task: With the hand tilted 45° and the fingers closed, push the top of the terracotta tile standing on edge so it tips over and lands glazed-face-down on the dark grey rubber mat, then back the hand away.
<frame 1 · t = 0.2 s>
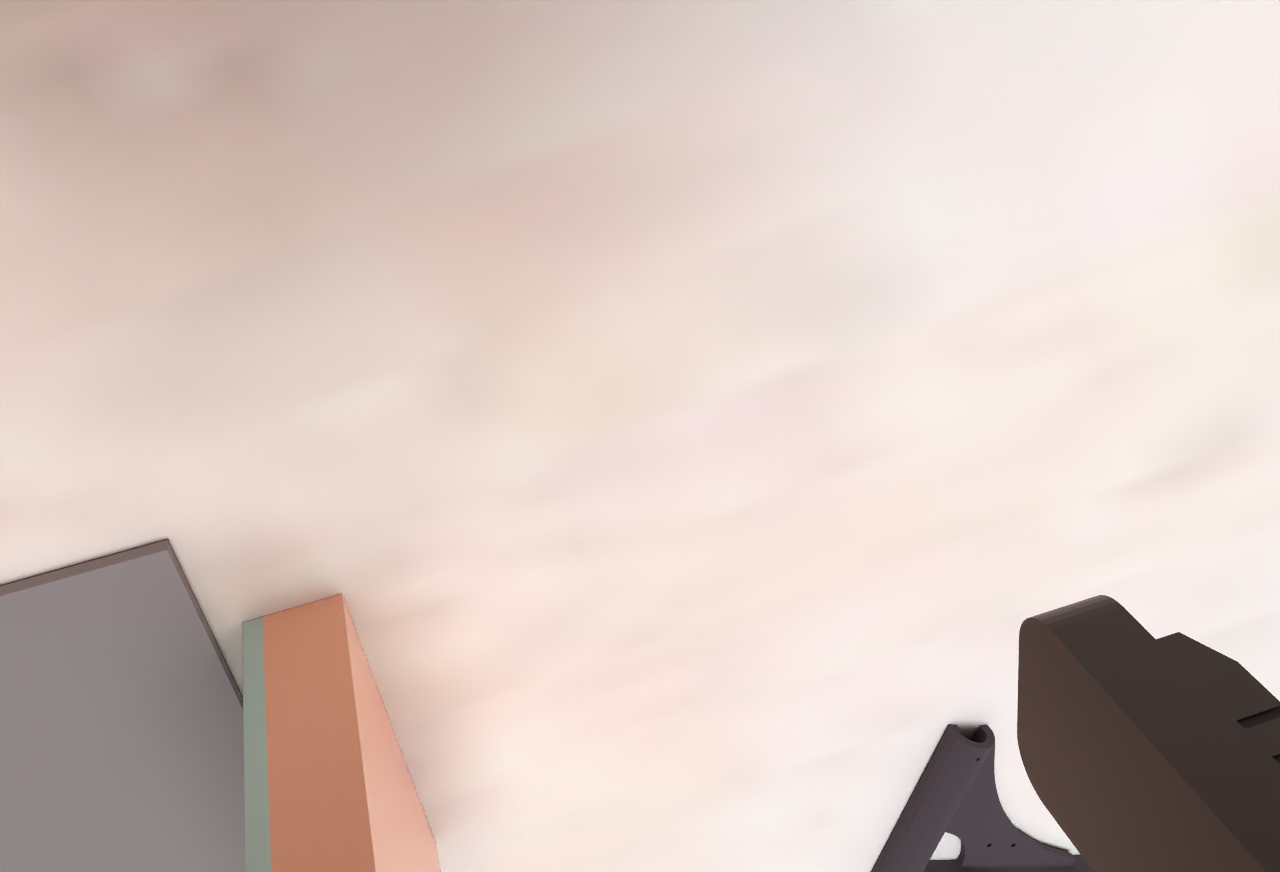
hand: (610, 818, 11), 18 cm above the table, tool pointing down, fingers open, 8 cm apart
bracket: (1022, 852, 47), on the table
tile: (347, 742, 33), on the table
mat: (26, 843, 32), on the table
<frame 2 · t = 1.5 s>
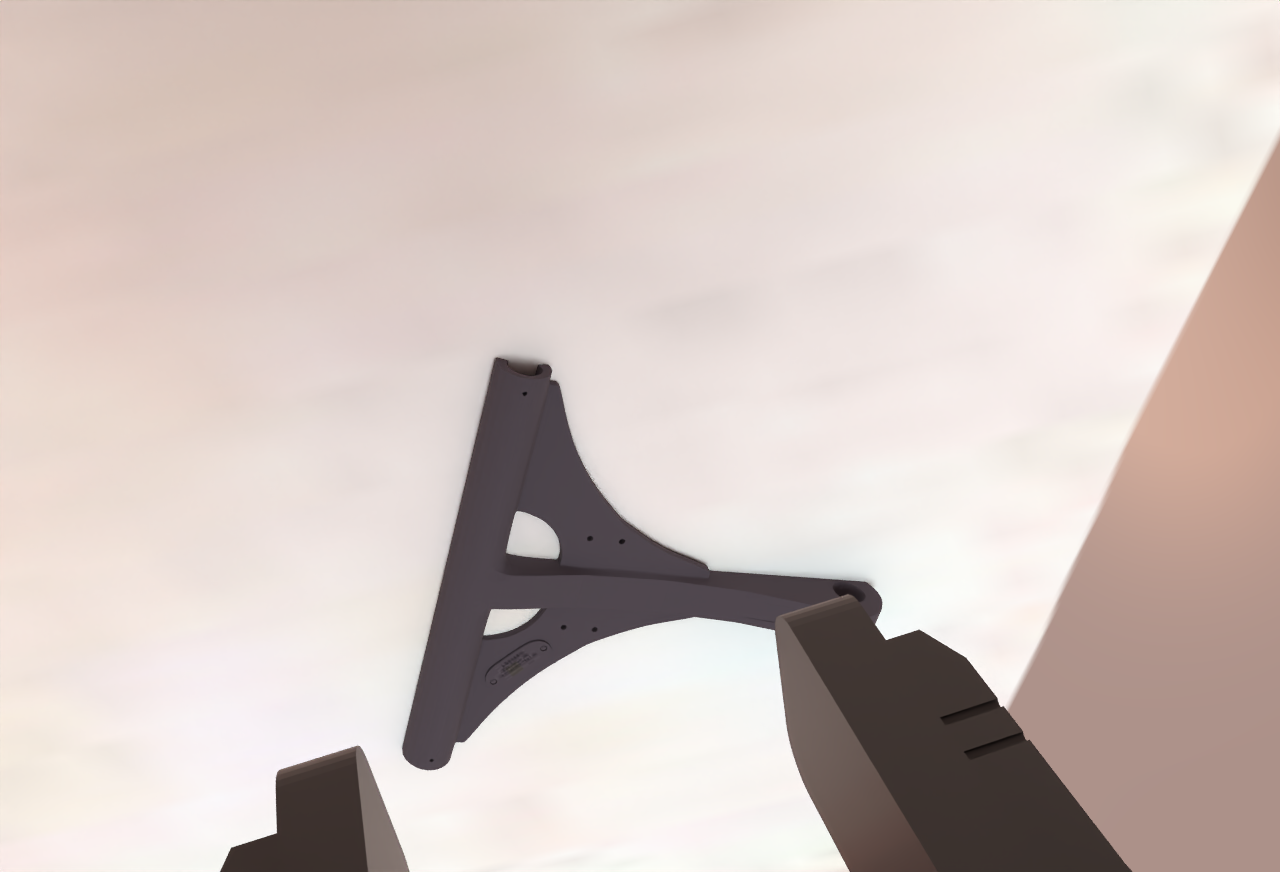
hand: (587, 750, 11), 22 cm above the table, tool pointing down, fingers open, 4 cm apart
bracket: (659, 572, 40), on the table
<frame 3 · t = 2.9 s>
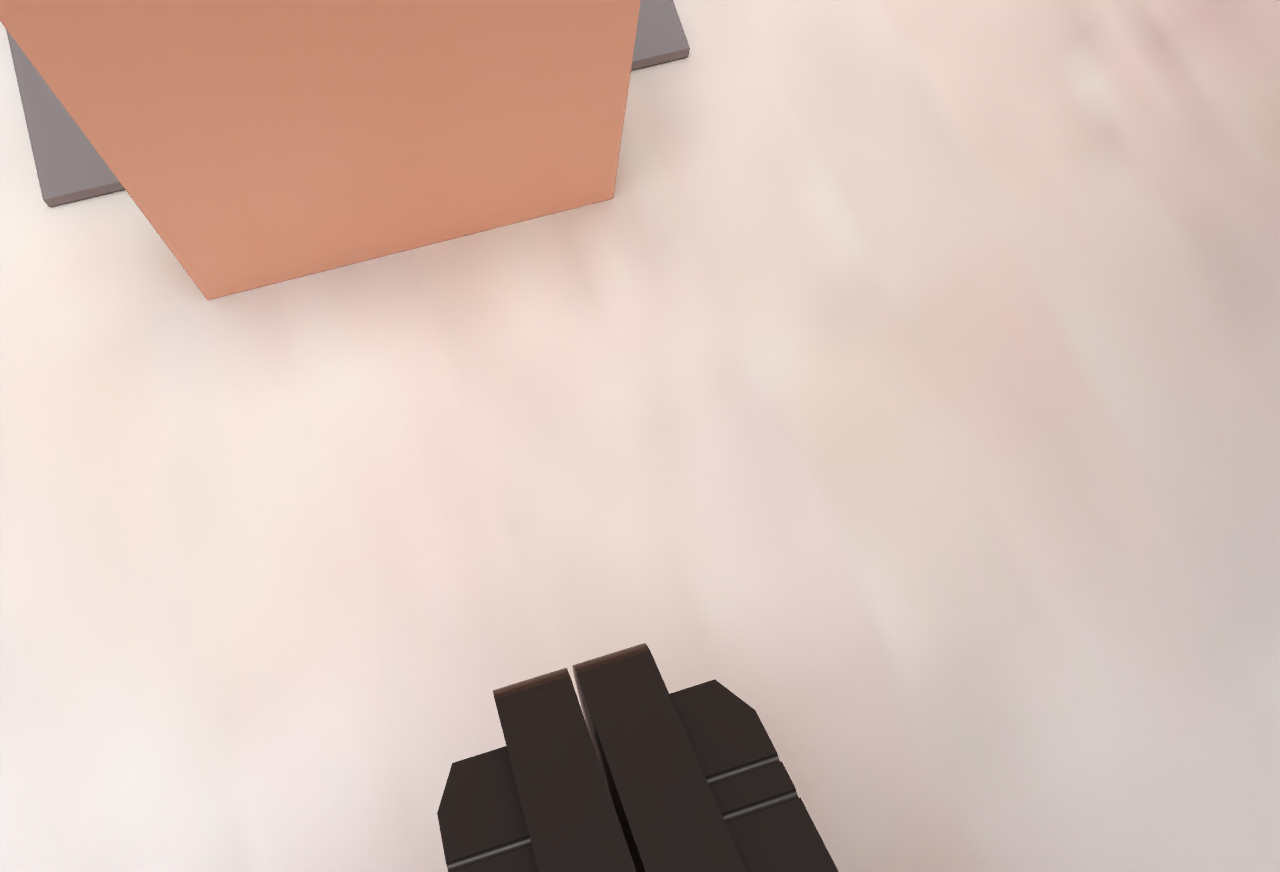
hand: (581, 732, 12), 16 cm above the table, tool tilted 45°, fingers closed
tile: (402, 201, 30), on the table
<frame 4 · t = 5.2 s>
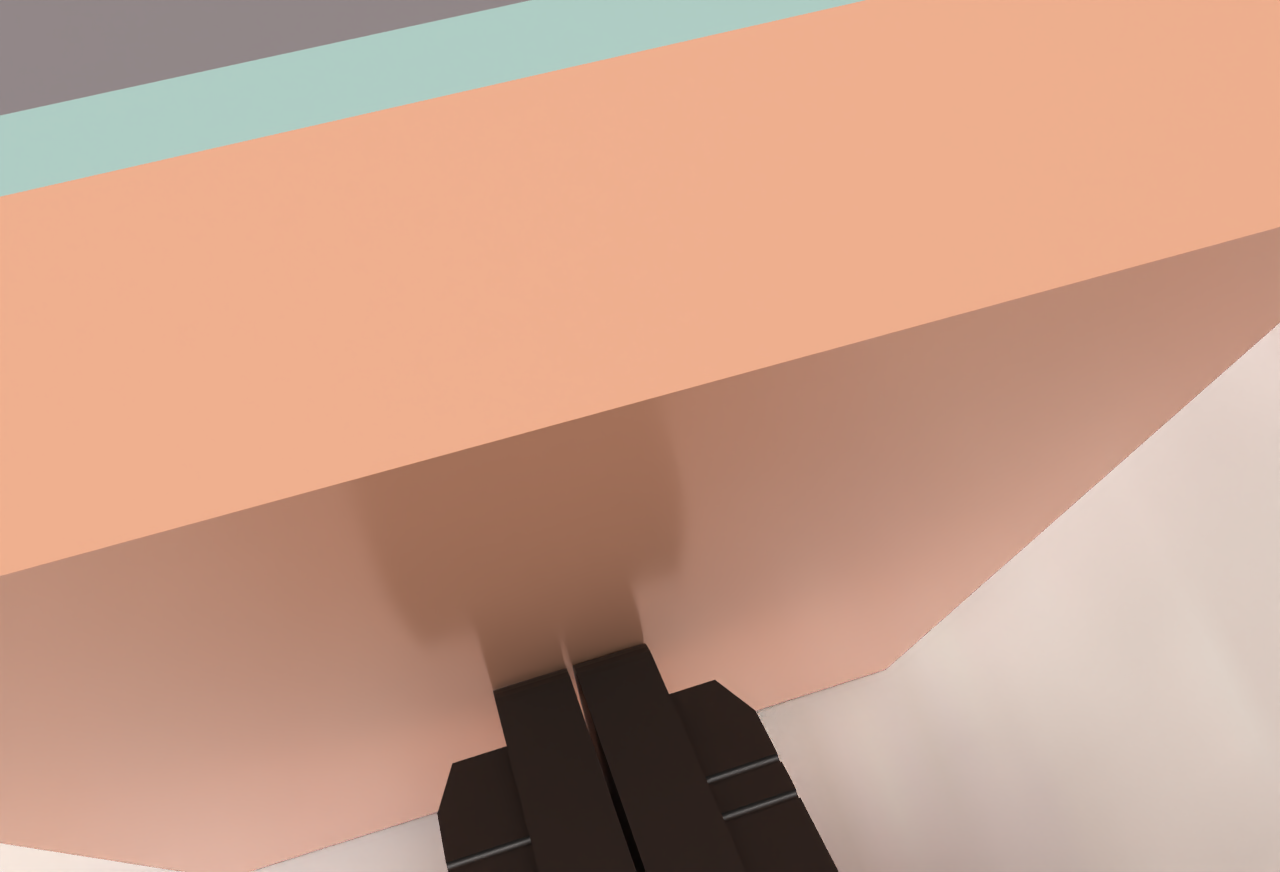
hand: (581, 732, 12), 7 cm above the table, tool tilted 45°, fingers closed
tile: (547, 687, 18), on the table, tilted 8°
mat: (405, 188, 20), on the table
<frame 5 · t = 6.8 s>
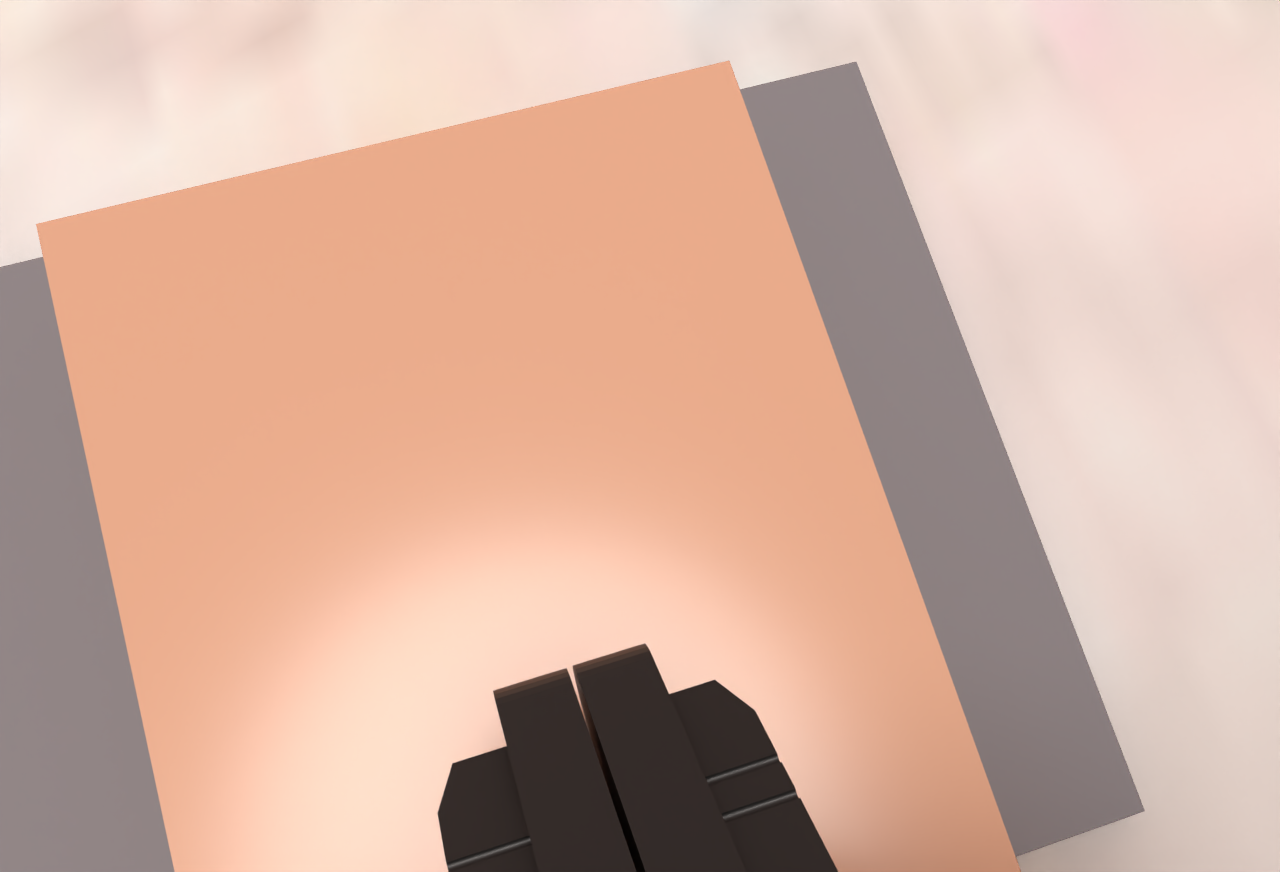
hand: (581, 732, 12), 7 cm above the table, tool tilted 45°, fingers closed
mat: (511, 553, 19), on the table
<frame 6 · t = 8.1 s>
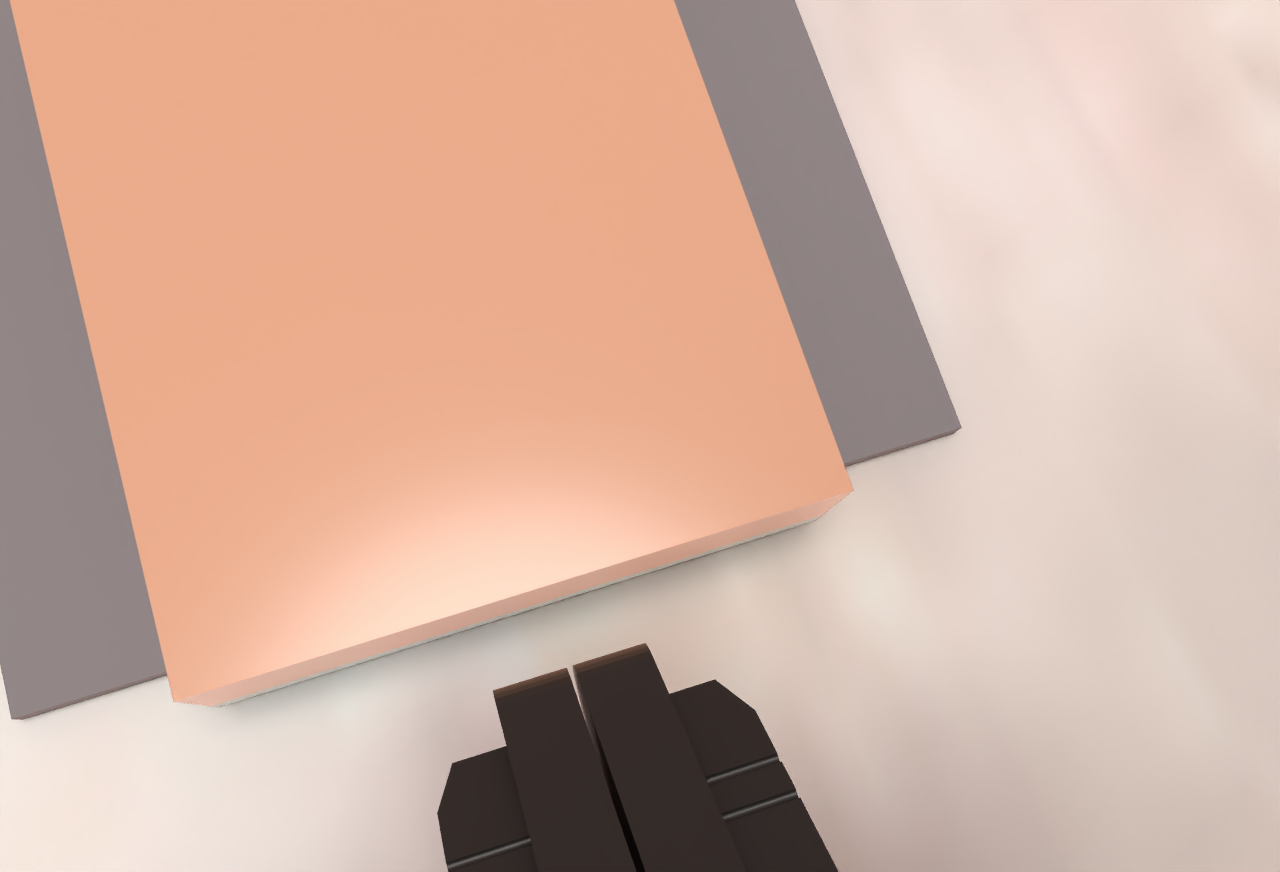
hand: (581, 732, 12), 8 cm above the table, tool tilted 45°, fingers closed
tile: (528, 601, 18), point 2 cm above the table, tilted 90°, touching mat
mat: (411, 218, 22), on the table
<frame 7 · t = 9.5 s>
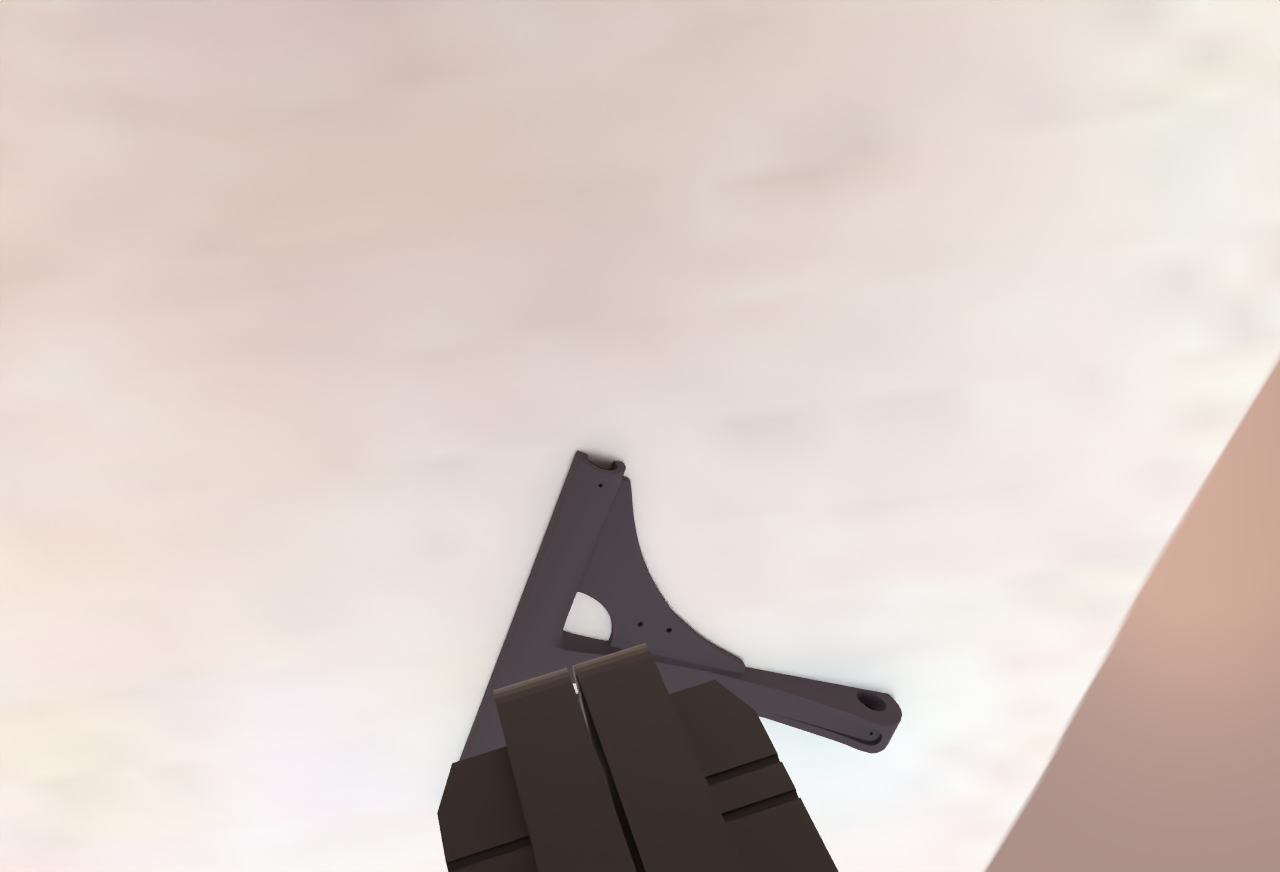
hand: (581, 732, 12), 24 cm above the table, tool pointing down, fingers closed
bracket: (697, 663, 44), on the table
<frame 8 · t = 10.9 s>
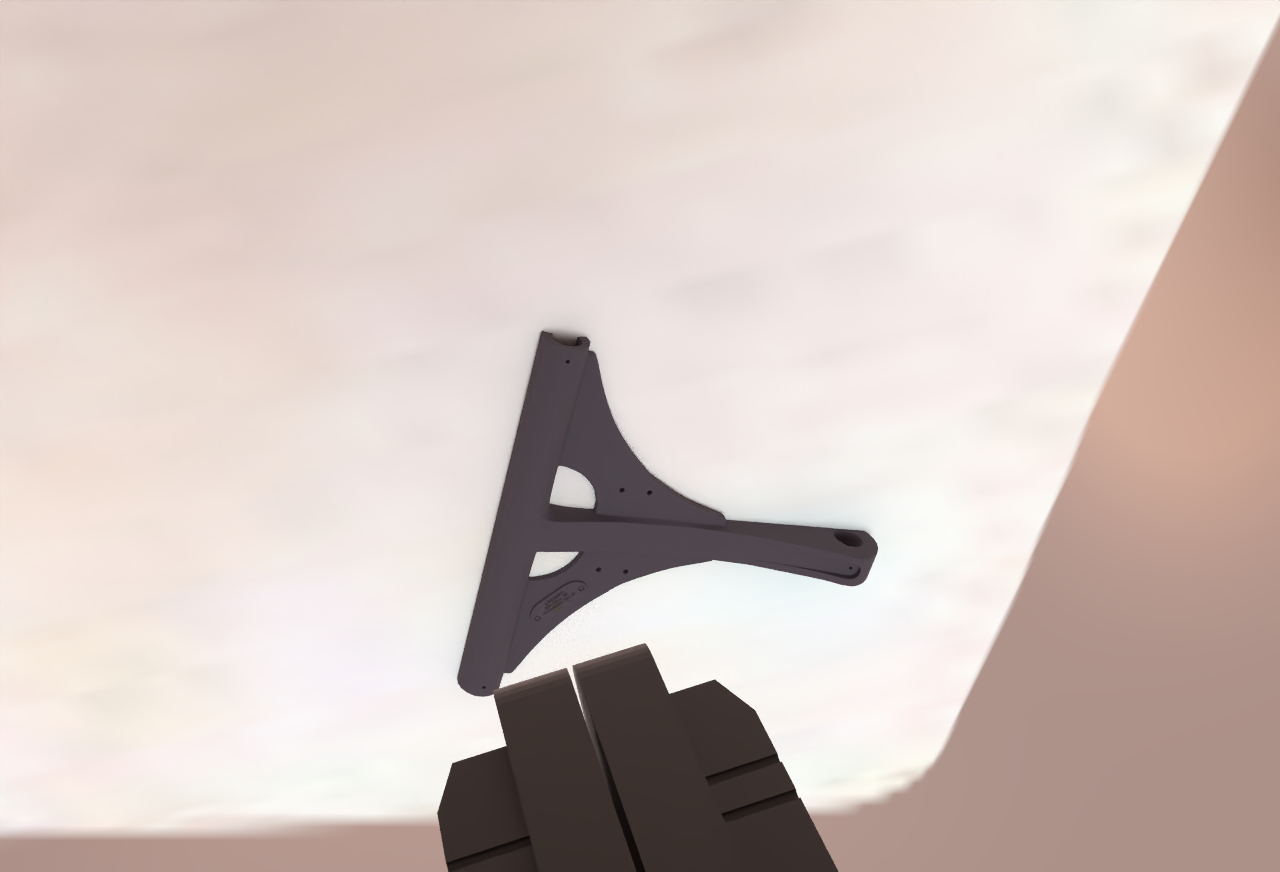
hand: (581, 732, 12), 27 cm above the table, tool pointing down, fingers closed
bracket: (681, 521, 46), on the table
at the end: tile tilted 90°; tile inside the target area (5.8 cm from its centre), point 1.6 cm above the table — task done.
